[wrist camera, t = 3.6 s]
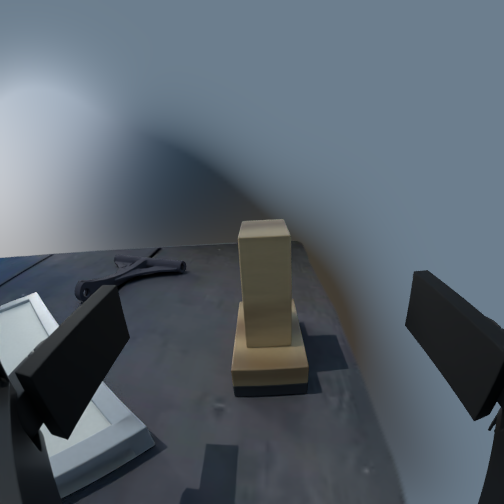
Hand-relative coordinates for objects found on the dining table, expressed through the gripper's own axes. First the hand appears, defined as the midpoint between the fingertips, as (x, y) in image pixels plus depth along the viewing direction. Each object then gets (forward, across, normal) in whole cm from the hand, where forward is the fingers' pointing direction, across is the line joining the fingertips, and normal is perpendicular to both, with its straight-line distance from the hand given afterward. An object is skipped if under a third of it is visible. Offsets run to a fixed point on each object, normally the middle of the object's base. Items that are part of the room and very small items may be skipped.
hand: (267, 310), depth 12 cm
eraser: (+9, 0, -9) cm, 13 cm away
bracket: (+25, -21, -9) cm, 34 cm away
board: (-4, -29, -9) cm, 30 cm away
